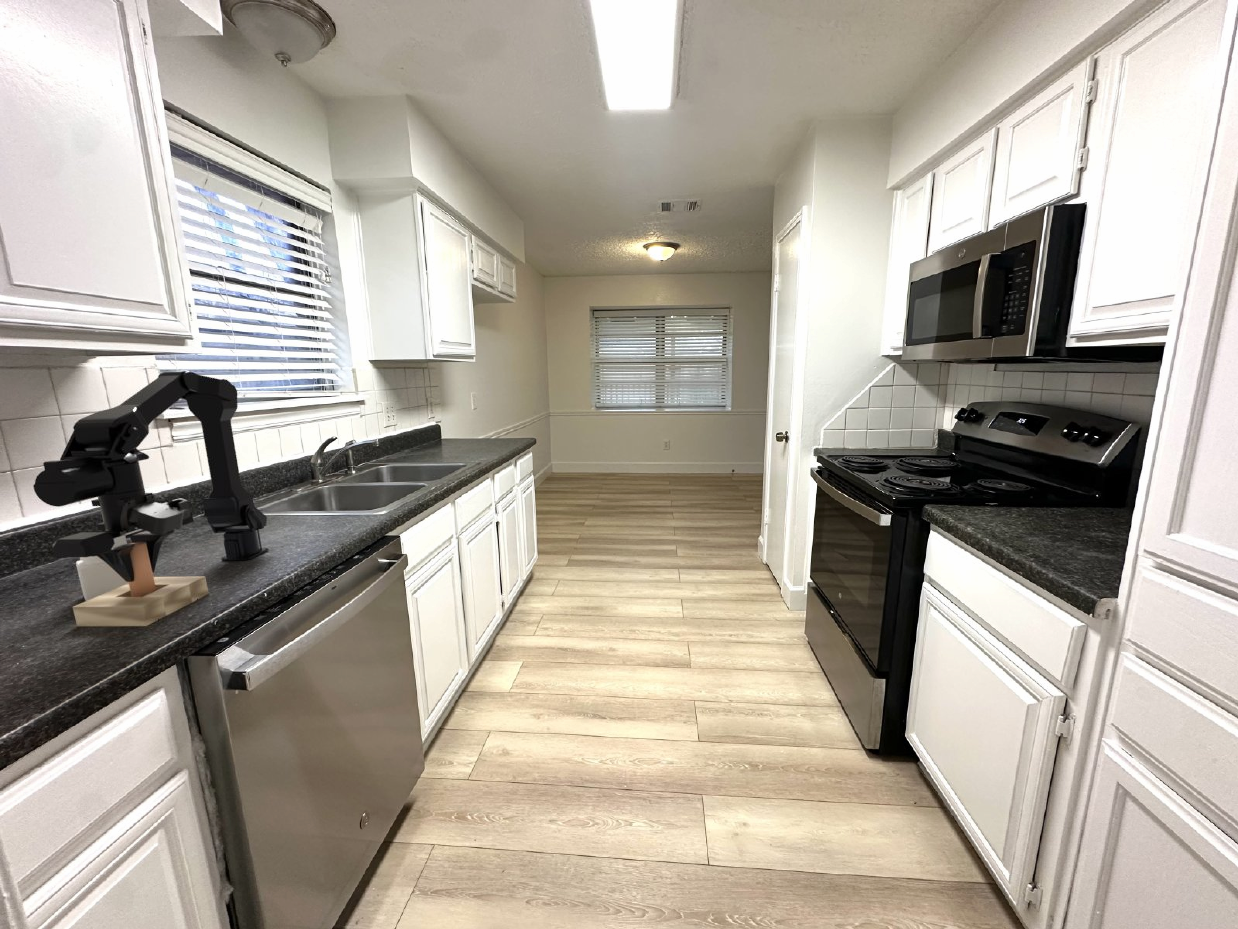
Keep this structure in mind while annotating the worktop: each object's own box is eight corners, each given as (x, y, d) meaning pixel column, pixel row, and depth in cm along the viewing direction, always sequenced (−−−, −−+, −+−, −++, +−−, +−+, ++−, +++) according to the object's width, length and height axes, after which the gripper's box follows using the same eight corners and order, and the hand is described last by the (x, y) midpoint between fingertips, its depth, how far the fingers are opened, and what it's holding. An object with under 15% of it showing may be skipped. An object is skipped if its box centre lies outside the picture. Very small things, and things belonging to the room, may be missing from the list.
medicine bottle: (135, 583, 99) (122, 526, 97) (141, 593, 95) (128, 533, 92) (83, 596, 94) (69, 536, 92) (87, 607, 89) (72, 543, 87)
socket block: (147, 594, 94) (144, 577, 93) (208, 593, 93) (205, 576, 93) (77, 626, 82) (72, 606, 81) (146, 626, 82) (142, 606, 81)
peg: (144, 589, 89) (133, 542, 87) (161, 589, 89) (151, 541, 87) (126, 597, 86) (114, 548, 84) (143, 597, 86) (132, 548, 84)
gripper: (108, 504, 74) (130, 601, 77) (213, 478, 93) (228, 557, 96) (38, 505, 75) (62, 602, 78) (156, 479, 93) (172, 557, 96)
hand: (140, 577), depth 87 cm, fingers closed on peg, 3 cm apart
